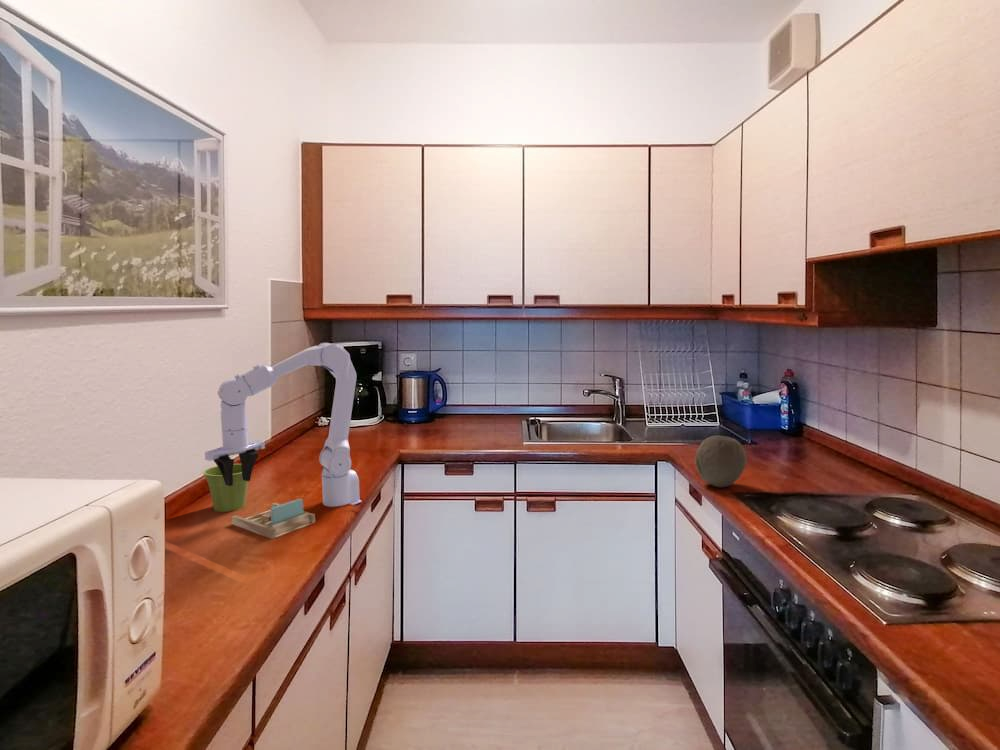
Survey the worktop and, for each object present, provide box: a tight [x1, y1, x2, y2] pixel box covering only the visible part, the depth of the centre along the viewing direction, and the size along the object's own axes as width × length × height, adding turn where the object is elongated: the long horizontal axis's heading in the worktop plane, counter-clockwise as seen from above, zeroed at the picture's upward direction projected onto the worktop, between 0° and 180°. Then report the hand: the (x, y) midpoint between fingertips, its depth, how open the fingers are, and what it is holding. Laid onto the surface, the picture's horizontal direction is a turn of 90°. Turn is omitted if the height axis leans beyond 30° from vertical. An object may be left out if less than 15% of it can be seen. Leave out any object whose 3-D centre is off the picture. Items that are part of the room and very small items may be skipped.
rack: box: [231, 502, 316, 539], centre depth 140 cm, size 12×16×3 cm
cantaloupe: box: [694, 435, 747, 488], centre depth 170 cm, size 14×14×15 cm
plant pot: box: [202, 463, 249, 513], centre depth 151 cm, size 12×12×11 cm
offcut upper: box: [262, 512, 271, 522], centre depth 139 cm, size 6×2×1 cm, turn 150°
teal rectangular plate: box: [270, 498, 304, 525], centre depth 136 cm, size 8×1×6 cm, turn 146°
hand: (237, 482), depth 141 cm, fingers open, 4 cm apart
